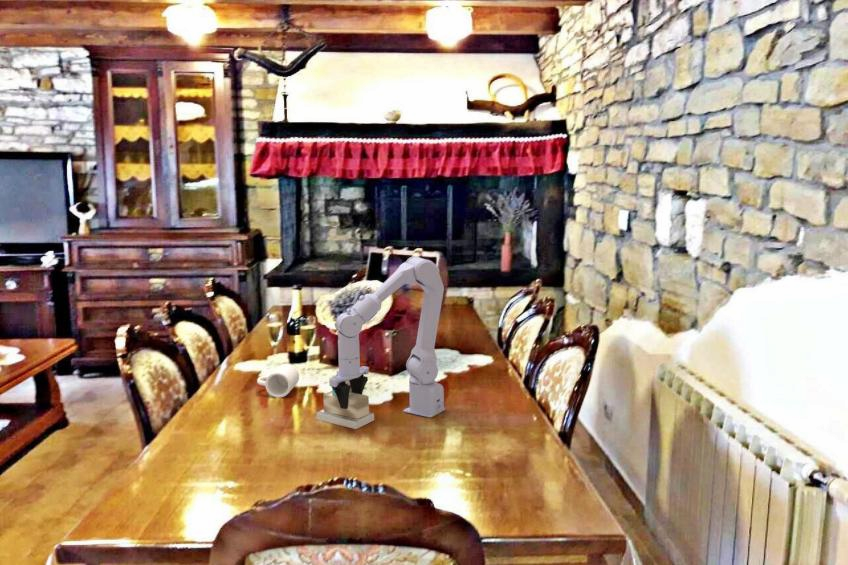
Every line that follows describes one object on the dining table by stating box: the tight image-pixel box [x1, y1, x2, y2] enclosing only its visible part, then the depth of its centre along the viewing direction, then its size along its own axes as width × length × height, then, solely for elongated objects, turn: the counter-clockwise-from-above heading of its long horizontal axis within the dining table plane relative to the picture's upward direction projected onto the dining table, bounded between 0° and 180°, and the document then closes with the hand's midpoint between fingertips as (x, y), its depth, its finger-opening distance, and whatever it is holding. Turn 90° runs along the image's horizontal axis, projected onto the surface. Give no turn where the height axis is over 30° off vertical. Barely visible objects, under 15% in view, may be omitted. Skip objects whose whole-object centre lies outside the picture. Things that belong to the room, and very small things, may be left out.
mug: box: [256, 363, 300, 399], centre depth 221 cm, size 12×10×8 cm
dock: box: [315, 409, 375, 430], centre depth 197 cm, size 14×8×2 cm, turn 56°
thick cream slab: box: [322, 390, 370, 419], centre depth 196 cm, size 12×5×5 cm, turn 56°
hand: (350, 405), depth 195 cm, fingers closed on thick cream slab, 5 cm apart
